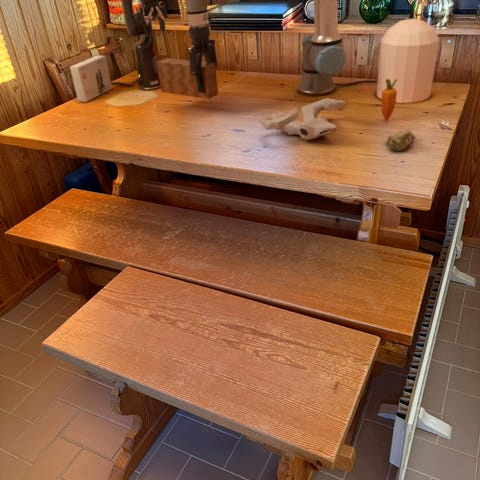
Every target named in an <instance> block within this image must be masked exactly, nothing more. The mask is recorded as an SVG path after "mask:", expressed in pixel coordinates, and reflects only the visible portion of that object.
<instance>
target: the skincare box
mask: <svg viewBox="0 0 480 480" xmlns="http://www.w3.org/2000/svg"><path fill="white" fill-rule="evenodd" d="M69 70H70V74H71V78H72V82H73V86H74V90H75V94H76V98H77V102H81V103H82V102H84V103H87V102H89V101H91V100H93V99H95V98H97V97H100V96H101V95H103V94H105V93H107V92H108V91H110V90H112V89H113V86H112V85H113V84H111V82H112V81H111V76H110V72H109V71H110V70H109V66H108V62H107V57H106V55H100V54H99V55H95V56H92V57H90V58H87V59H85V60H83V61H80V62H78V63H75V64H73V65H71V66H69Z"/></svg>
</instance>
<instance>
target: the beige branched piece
mask: <svg viewBox="0 0 480 480" xmlns="http://www.w3.org/2000/svg"><path fill="white" fill-rule="evenodd" d="M346 107H347V102H346V101H345V100H341V99H334V98H329V97H327V98H324V99H321V100H317V101H314V102H312V103H311V102H310V103H309V104H306V105H303V106H302V107H301V109H300V110H301V111H300V112H301V117H302V121H299V120H297V119H298V118H299V108H298V107H297V106H296V107H293V108H291V111H290V112H289V113H288V114H286V113H284V112H277V113H273V114H267V115H262V116H260V117H259V122H260V124H261V126H262V127H263V128H265V129H266V130H267V131H269V130H276V131H283V132H285V133H286V134H288V135H289V136H291V135H299V137H300V138H301V139H303V140H305V141H310V140H315V139H318V138H321V137H324V136H326V135H328V134H331V133H333V132H335V131H336V130H337V128H338V127H337V125H336V123H334V122H329V120H327V119H325V118H323V117H318V115H319V113H320V112H321V111H333V110H338V111H341V112H342V111H344V109H345V108H346Z"/></svg>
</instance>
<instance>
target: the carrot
mask: <svg viewBox="0 0 480 480" xmlns="http://www.w3.org/2000/svg"><path fill="white" fill-rule="evenodd" d="M396 81H397V79H395V80H394V82H393V84H391V82H390V79H386V83H387V85H386V87H387V88H386V89H384V90H383V91H382V98H380V99H381V100H380V101H381V102H380V104H381V112H382V113H381V114H382V117H383V119H384V120H385V121H386V122H388V121H389V119H390V118H391V117H392V114H393V112H394V109H395V106H396V103H397V102H396V95H397V91H396V90H395V89H394V88H393V86H394V84H395V83H396ZM389 85H390V86H389ZM391 85H392V86H391Z"/></svg>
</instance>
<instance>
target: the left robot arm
mask: <svg viewBox="0 0 480 480" xmlns="http://www.w3.org/2000/svg"><path fill="white" fill-rule="evenodd" d="M120 1H121V8H122V13H123V19H124V25H125V28H126V32H127V33H128V35H129V36H131V37H139V36H141V37H140V39H139V40H138V41H136V42H135V43H134V45H133V50H134V54H135V59H136V64H137V67H136V71H137V72H136V73H137V78H135V80H134V81H132V83H124V82H121V81H118V82H117V81H113V82H112V81H111V85H121V86H126V87H131V86H134V84H136V85H137V86H139V87H140V89H142V90H145V91H151V90H152V91H153V90H157V89H159V88H161V85H160V79H159V74H158V68H157V63H156V62H157V61H158V60H157V55H156V50H155V38H154V30H153V24H152V18H153V17H156V19H157V20H158V24H159V25H158V26H159V30H160V31H166V23H165V20H166V19H167V18H168V12H167V8H166V2H165V1H159V0H139V2H140V3H141V6H136V7H135V10H136V12H134V0H120Z"/></svg>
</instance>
